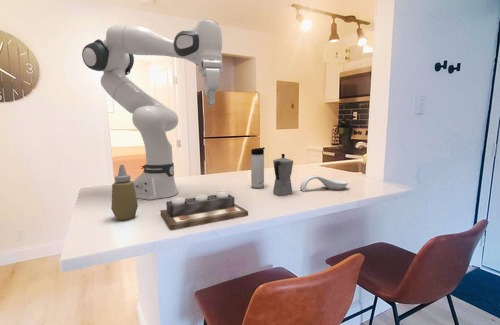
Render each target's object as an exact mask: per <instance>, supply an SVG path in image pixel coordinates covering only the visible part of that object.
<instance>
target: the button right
mask: <svg viewBox="0 0 500 325" xmlns="http://www.w3.org/2000/svg"><path fill="white" fill-rule="evenodd" d="M228 194H229V191H227V190H219V191H216V194H215V195H216V198H218V199H221V198H228Z"/></svg>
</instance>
